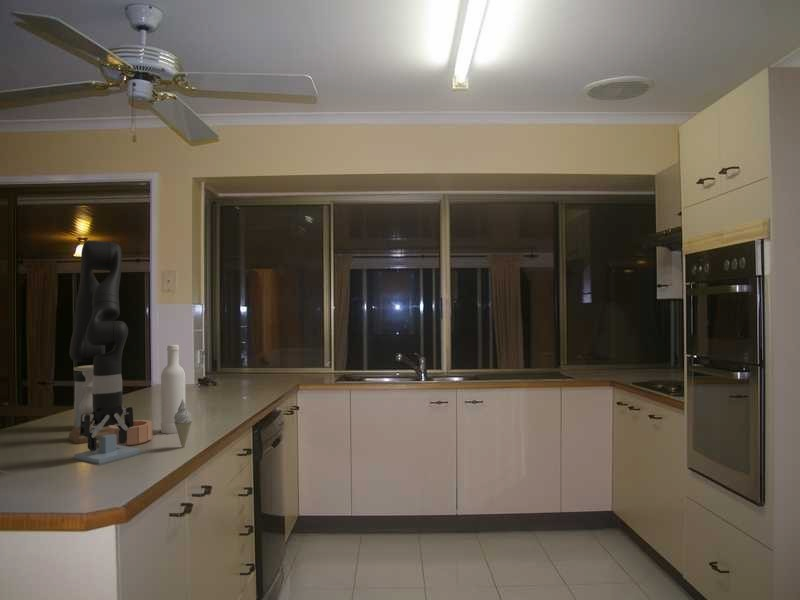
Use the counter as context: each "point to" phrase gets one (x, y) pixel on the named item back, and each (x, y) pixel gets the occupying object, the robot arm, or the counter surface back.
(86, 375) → the candle holder
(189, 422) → the ice cream cone
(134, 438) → the bowl
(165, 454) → the counter surface
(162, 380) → the bottle
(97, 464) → the mat
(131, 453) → the lid
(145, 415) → the counter surface
